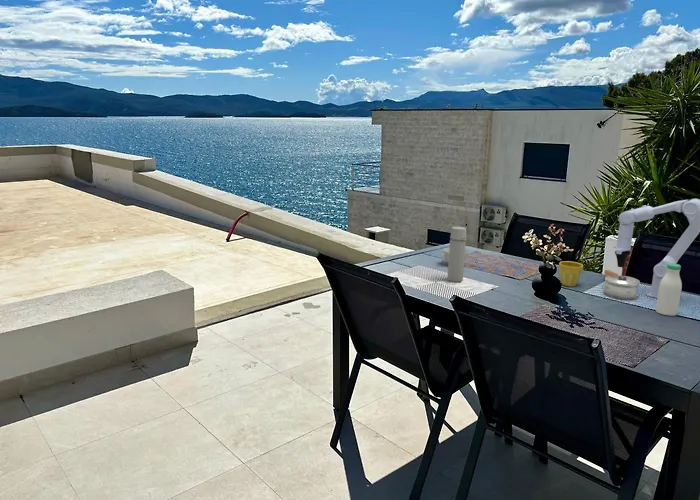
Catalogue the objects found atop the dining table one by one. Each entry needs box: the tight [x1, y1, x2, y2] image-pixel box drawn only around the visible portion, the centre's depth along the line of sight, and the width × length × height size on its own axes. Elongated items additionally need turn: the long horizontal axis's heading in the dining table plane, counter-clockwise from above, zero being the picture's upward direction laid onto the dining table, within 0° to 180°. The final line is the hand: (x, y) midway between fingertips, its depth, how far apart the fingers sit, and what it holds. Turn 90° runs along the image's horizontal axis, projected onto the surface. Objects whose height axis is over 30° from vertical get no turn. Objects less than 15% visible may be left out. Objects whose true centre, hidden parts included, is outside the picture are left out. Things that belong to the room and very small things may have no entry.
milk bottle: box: [655, 263, 683, 317], centre depth 215 cm, size 8×8×20 cm
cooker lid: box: [604, 269, 640, 287], centre depth 240 cm, size 19×14×2 cm
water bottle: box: [447, 226, 468, 283], centre depth 252 cm, size 9×8×25 cm
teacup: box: [440, 247, 469, 264], centre depth 280 cm, size 15×12×8 cm
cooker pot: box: [603, 276, 639, 301], centre depth 241 cm, size 18×13×6 cm
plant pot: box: [558, 260, 584, 287], centre depth 252 cm, size 10×10×10 cm
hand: (620, 266), depth 247 cm, fingers closed
